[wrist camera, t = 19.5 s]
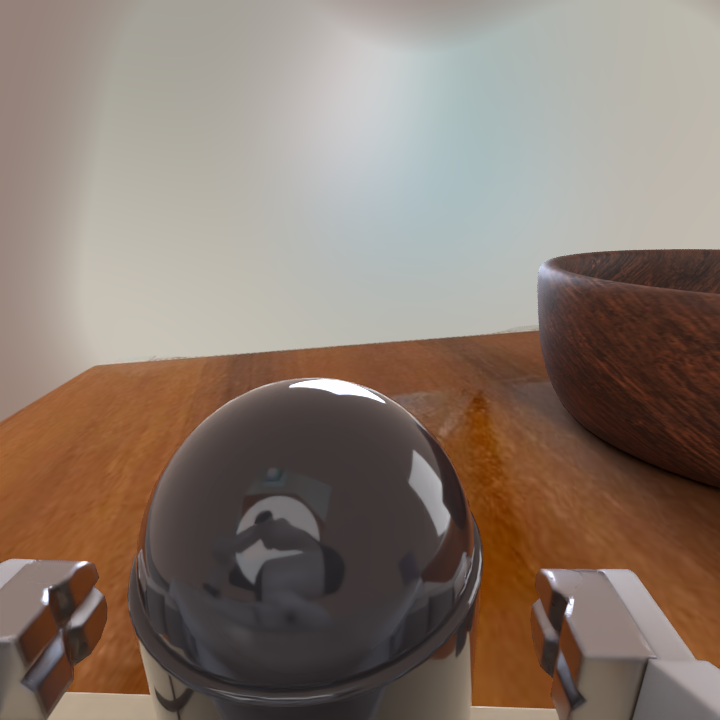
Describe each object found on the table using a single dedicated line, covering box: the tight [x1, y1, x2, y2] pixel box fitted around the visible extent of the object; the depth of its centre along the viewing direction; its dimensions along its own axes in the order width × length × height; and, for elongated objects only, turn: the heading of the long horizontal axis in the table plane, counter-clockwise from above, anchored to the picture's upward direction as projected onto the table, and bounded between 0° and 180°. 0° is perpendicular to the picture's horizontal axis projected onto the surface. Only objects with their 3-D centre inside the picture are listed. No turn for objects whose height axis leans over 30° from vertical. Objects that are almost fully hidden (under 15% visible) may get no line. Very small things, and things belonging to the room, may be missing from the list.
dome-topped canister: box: [128, 378, 484, 720], centre depth 7 cm, size 5×5×10 cm
